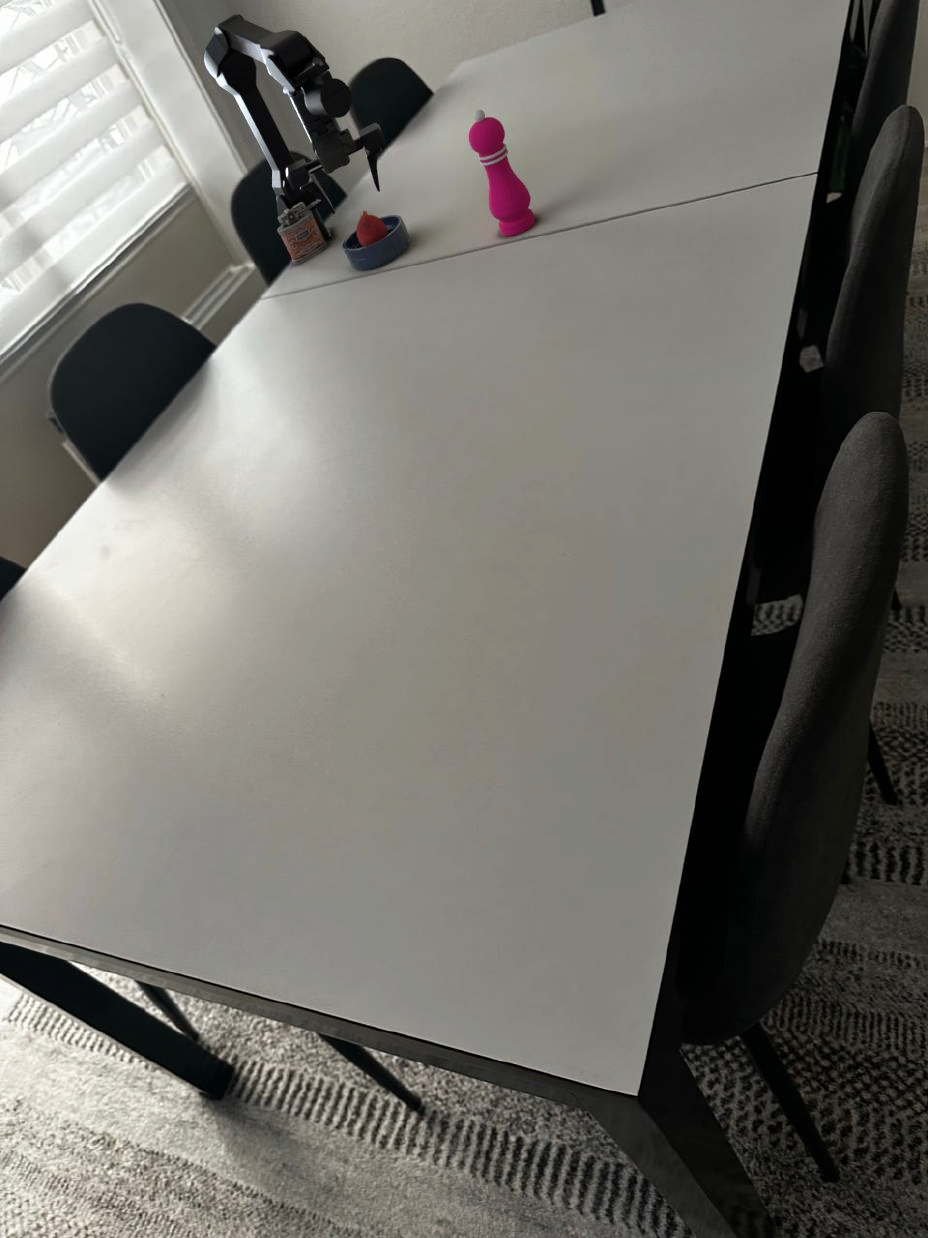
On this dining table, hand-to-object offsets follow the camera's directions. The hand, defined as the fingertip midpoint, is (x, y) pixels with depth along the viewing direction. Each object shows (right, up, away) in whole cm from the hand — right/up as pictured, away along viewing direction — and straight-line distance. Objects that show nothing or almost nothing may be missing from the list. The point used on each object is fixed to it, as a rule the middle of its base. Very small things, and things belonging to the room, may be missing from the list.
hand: (356, 201), depth 171 cm
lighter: (-12, -1, +22) cm, 25 cm away
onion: (+4, -7, +6) cm, 10 cm away
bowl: (+4, -7, +7) cm, 11 cm away
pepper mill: (+29, -9, -9) cm, 32 cm away
